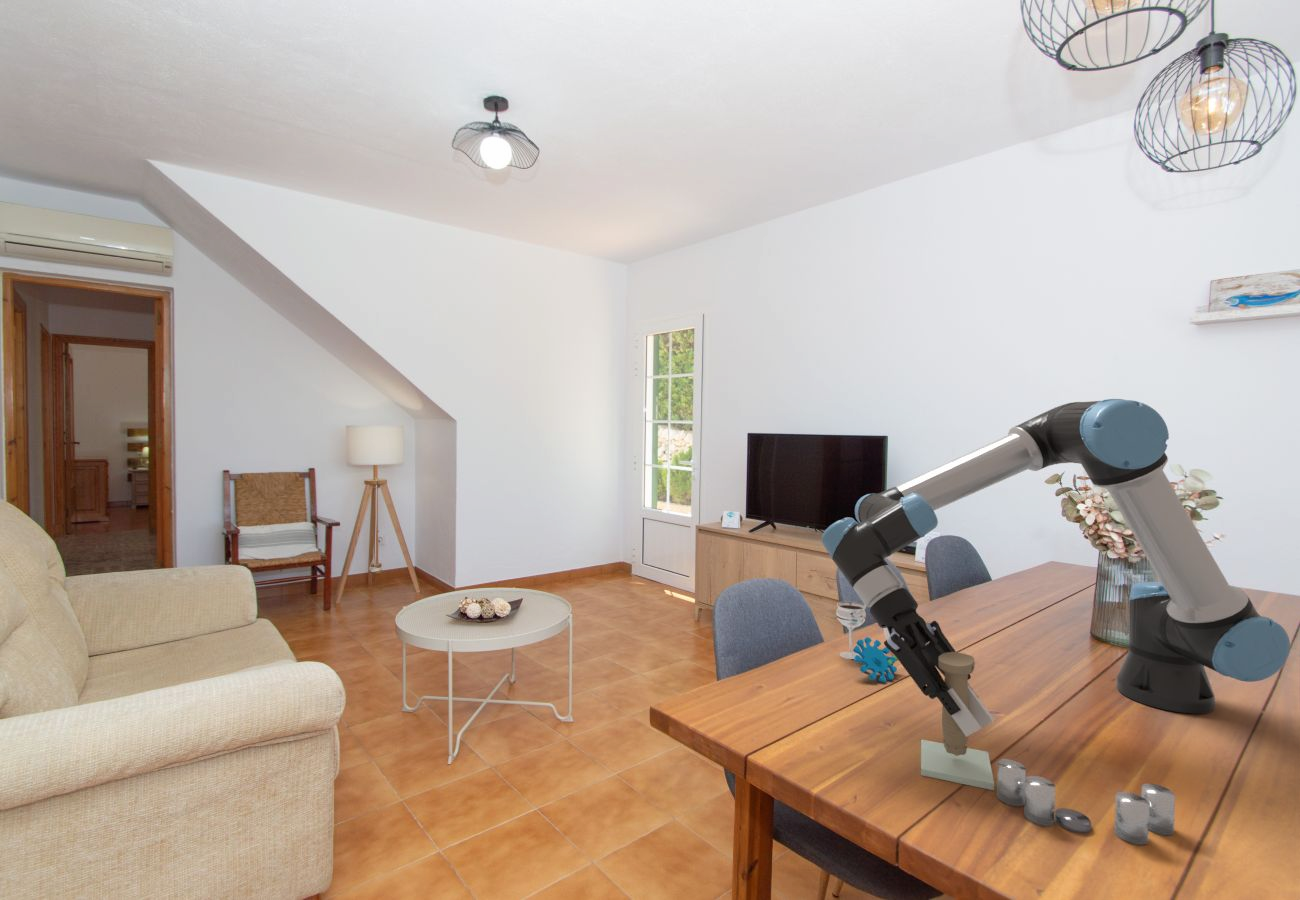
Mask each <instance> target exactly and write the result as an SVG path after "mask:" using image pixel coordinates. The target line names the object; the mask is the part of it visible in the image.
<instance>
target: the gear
mask: <svg viewBox="0 0 1300 900" xmlns="http://www.w3.org/2000/svg"><path fill="white" fill-rule="evenodd" d="M871 642H872V638H871V637H868V636H867V637H865V638H864V639H858V640H857V641H856V642H855V643H856V645H855V646H854V647H853V649H852V652H853V653H857V654H859V655H860V656H861V657H860V656H859V655H856V656H855V657H854V662H855V663H861V666H860V667H859V670H860V672H861V673H863V674H864V673H866V672H867V671H872V672H871V673H870V674H869V675H868V678H869V679H870V680H871V681H875V680H876V679H877V674H879V675H880V677H878V682H880V683H882V682H884V683H886V682H887V681H891V680H893V679H894V678H895V676H894V674H895V673H896V672H897V671H898V668H897V667H896V666H894V664H895V663H896V662H897V661H899V660H898V659H897V657H896V656H895V655H893V656H889V655H888V654H889V653H890V652H891V651H890V650H889V649H888V648H887V647H886V646H885V647H883V648H882V649H880V648H879V647H880V646H881V645H882V642H881V641H880V640H878V639H876V640H874V642H873V646H872V645H871V644H870V643H871ZM864 644H865V645H864ZM862 664H863V665H862ZM885 674H886V675H885Z"/></svg>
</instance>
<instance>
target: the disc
mask: <svg viewBox="0 0 1300 900" xmlns="http://www.w3.org/2000/svg"><path fill="white" fill-rule="evenodd" d="M1054 822H1056V824H1057V825H1059V827H1060V828H1063V829H1065V830H1066V831H1068V832H1071V833H1076V834H1083V835H1084V834H1089V833H1090V832H1091V829H1092V828H1091V826H1092V822H1091V819H1090V818H1089V817H1088V816H1086V815H1085V814H1084V813H1082V812H1079V811H1077V810H1074V809H1071V808H1065V807H1063V808H1057V809H1055V810H1054Z"/></svg>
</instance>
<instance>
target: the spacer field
mask: <svg viewBox="0 0 1300 900" xmlns="http://www.w3.org/2000/svg"><path fill="white" fill-rule="evenodd" d="M1026 772H1027V769H1026V766H1025V765H1024V764H1023V763H1020V761H1017V760H1013V759H1008V758H1001V759H999V760H998V761H997V782H996V783H997V785H996V787H997V788H996V796H997V799H998V800H999V801H1001V803H1003V804H1006V805H1008V806H1010V807H1011V806H1012V807H1023V806H1024V808H1023V810H1024V811H1023V815H1024V817H1025V819H1027V820H1028V821H1029V822H1030V823H1033V824H1035V825H1038V826H1041V827H1052V826H1054V824H1055V810H1056V809H1055V806H1056V805H1055V802H1056V800H1055V799H1056V798H1055V797H1056V785H1055V784H1054V783H1053V782H1052V781H1051V780H1049V779H1047V778H1045V777H1042V776H1038V775H1027V776H1026V774H1027V773H1026ZM1140 792H1141V795H1139V794H1135V793H1132V792H1128V791H1118V792H1116V793H1115V801H1114V802H1115V806H1114V807H1115V808H1114V810H1115V813H1114V834H1115V835H1116V836H1117V837H1118V838H1119V839H1121V840H1122V841H1124V842H1126V843H1129V844H1132V845H1136V846H1146V845H1147V844H1148V843H1149V831H1150V832H1152V833H1155V834H1157V835H1159V836H1160V835H1161V836H1172V835H1174V833H1175V812H1176V811H1175V809H1176V808H1175V807H1176V794H1175V793H1174V792H1173V791H1172V790H1171V789H1168V788H1166V787H1164V786H1162V785H1158V784H1157V783H1156V784H1154V783H1143V784H1142V785H1141V791H1140Z"/></svg>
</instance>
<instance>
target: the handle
mask: <svg viewBox="0 0 1300 900" xmlns="http://www.w3.org/2000/svg"><path fill="white" fill-rule="evenodd" d="M975 663H976V662H975V658H974V656H973V655H970V654H967V653H962V652H958V651H956V652H948V653H943V654H941V655H940V656H939V657H938V665H939V668H940V669H941V670H943V671H944V672H945V676H944V679H943V680H944V682H945V683H946V685H947V687H948V690H949V689H951V688H953V689H954V691H955V692H956V693H957V695H958V696H959V697H960V699H961V700H962V702H963V703H964V704H965V706H966V707H967V708H968V710H969V702H968V684H969V680H968V674H970V675H971V674H972V673H973V672H974V670H975V666H976V665H975ZM948 690H947V691H948ZM941 708H942V710H941V725H942V726H941V728H942V737H943V744H944V747H945V749H946V751H947V752H948V753H951V754H954V755H955V756H958V755H965V754H966V751H967V748H968V746H967V744H968V742H969V741H968V740H969V736H967V737H966V736H965V734H964V733H963V731H962V730H961V729H960V727H959V726H958V724H957V723H956V722H955V720H954V719H953V717H952V716H951V715H950V714H949V713H948V712H947V710H946V709H945V707H944V706H943V705H942V707H941Z"/></svg>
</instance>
